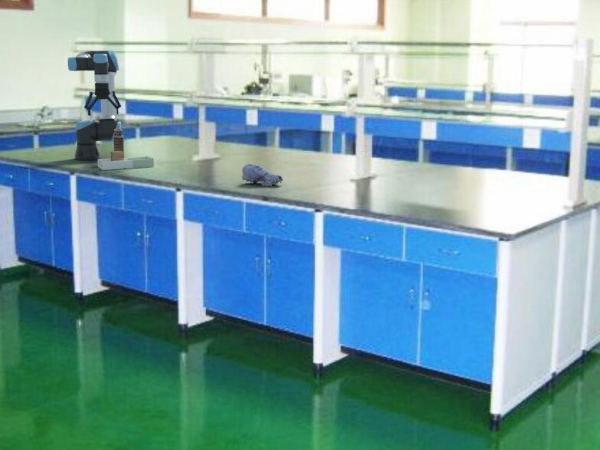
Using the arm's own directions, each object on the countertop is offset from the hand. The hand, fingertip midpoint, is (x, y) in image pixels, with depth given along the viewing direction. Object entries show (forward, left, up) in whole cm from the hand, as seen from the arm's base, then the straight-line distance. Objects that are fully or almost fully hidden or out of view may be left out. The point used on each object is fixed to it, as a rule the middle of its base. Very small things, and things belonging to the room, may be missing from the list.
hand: (103, 121), depth 470 cm
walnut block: (0, +7, -24) cm, 24 cm away
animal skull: (+89, +58, -27) cm, 110 cm away
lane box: (0, +11, -27) cm, 29 cm away
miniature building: (-19, +12, -27) cm, 35 cm away
